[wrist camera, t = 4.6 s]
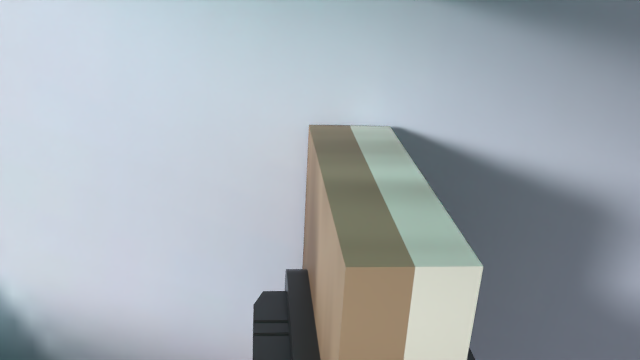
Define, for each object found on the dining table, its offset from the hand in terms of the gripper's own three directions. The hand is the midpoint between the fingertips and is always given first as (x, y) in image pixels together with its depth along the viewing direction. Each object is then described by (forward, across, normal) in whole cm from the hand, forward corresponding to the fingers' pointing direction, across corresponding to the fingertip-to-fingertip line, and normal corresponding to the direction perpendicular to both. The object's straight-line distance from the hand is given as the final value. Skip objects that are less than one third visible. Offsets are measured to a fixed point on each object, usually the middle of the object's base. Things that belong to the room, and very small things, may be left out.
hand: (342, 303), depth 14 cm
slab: (+1, 0, 0) cm, 1 cm away
